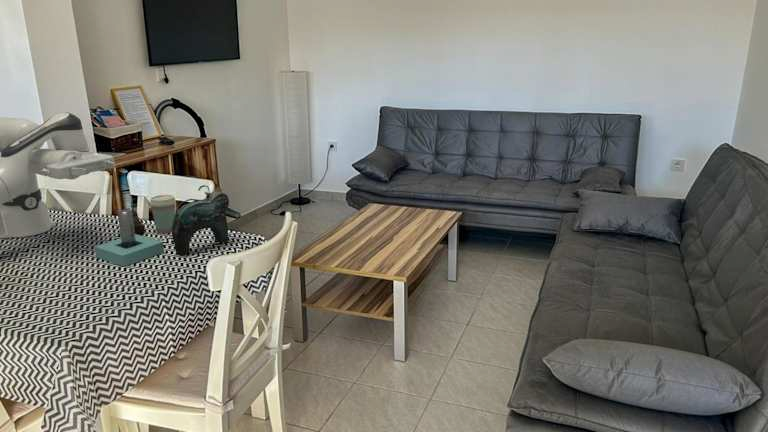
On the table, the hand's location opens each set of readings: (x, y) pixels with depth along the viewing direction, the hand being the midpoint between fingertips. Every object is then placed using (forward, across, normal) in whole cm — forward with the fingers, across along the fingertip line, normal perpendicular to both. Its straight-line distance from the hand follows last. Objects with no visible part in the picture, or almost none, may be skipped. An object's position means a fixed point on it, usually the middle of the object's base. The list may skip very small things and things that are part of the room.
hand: (100, 168), depth 176 cm
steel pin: (+9, -1, +26) cm, 28 cm away
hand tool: (-11, +19, +26) cm, 34 cm away
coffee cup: (+2, +22, +26) cm, 34 cm away
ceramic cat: (+25, +14, +26) cm, 39 cm away
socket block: (+9, -1, +26) cm, 28 cm away
